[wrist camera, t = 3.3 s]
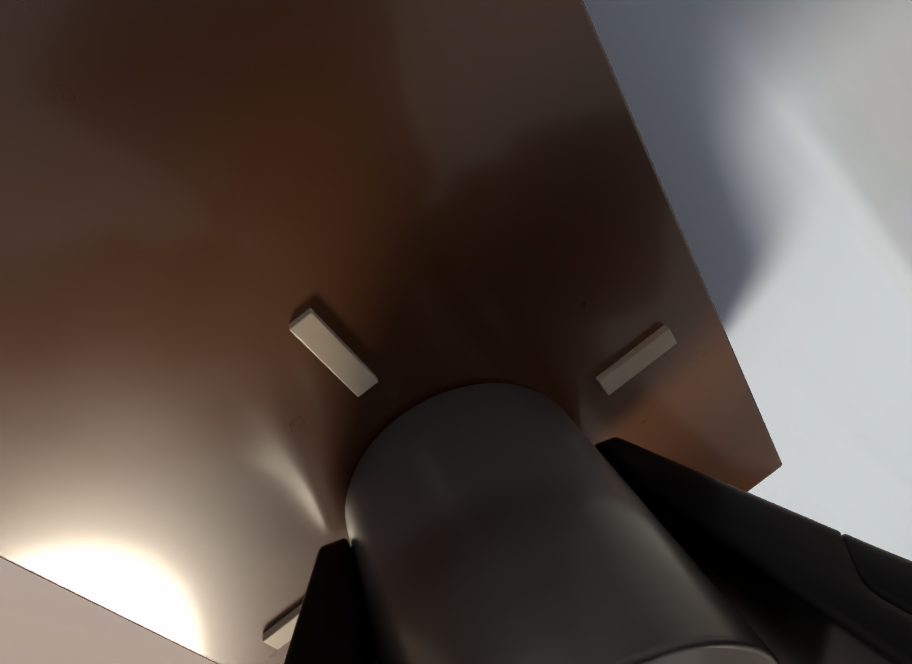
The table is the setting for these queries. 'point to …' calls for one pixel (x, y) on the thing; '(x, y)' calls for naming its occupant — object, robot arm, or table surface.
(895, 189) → the table surface
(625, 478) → the robot arm
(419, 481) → the knob
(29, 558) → the knob panel
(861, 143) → the table surface
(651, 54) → the table surface
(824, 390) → the table surface
